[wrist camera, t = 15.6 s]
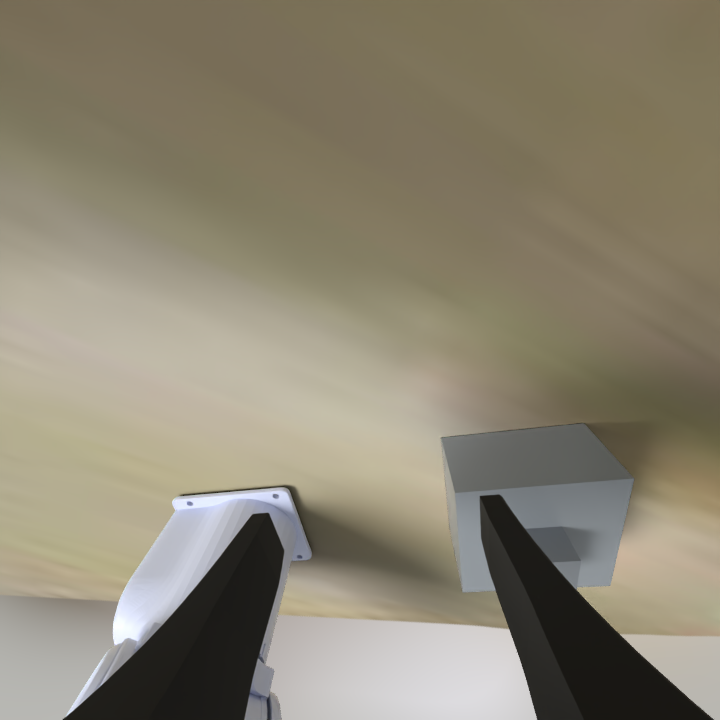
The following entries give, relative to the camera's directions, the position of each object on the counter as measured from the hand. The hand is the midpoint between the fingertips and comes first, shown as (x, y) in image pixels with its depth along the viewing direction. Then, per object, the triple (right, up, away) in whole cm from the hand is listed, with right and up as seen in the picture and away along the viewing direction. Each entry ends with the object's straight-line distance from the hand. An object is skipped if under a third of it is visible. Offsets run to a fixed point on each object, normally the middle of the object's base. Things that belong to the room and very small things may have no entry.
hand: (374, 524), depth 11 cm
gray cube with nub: (+10, -3, +12) cm, 16 cm away
